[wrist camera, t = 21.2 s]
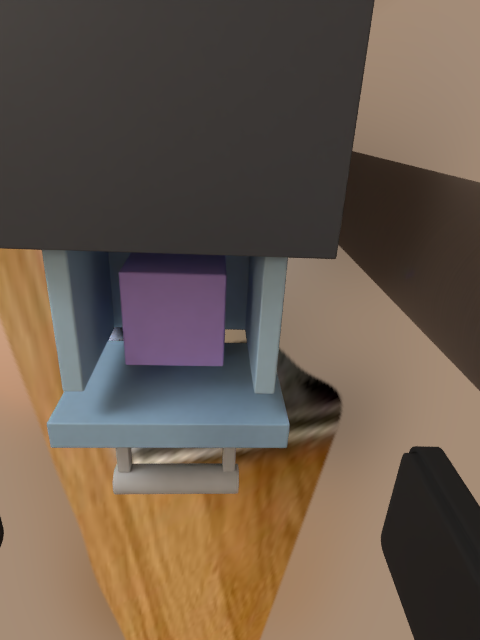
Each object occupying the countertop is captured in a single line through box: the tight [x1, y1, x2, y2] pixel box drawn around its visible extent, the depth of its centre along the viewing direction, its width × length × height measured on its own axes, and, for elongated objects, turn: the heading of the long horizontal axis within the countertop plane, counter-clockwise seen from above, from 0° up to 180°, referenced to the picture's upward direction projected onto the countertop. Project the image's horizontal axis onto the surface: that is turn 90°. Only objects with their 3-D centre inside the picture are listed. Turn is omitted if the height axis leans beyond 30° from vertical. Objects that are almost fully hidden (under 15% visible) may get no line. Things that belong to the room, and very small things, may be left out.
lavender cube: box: [119, 252, 227, 366], centre depth 19 cm, size 4×4×4 cm
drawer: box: [42, 250, 290, 494], centre depth 19 cm, size 15×9×7 cm, turn 177°
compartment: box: [0, 0, 374, 259], centre depth 14 cm, size 12×11×9 cm
